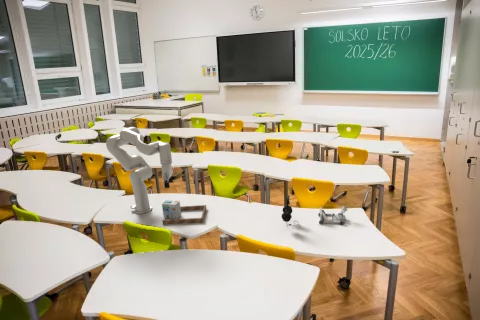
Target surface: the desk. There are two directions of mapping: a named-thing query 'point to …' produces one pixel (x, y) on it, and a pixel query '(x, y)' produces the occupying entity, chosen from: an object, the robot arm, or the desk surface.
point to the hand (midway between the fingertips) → (168, 185)
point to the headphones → (287, 212)
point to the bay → (188, 220)
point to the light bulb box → (171, 209)
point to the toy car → (332, 217)
